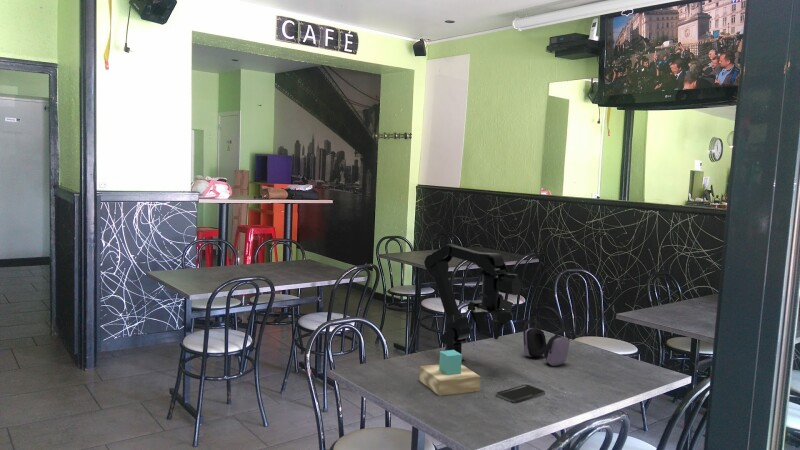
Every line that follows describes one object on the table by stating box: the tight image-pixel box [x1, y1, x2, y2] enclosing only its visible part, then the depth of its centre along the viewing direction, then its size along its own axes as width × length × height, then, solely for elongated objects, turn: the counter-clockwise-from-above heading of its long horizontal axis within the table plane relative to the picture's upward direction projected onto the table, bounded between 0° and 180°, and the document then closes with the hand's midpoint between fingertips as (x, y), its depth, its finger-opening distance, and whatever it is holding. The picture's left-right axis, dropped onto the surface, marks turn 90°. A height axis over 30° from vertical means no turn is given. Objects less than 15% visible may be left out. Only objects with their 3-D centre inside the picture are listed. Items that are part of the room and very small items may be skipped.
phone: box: [495, 384, 546, 404], centre depth 176 cm, size 8×1×15 cm
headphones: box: [523, 305, 571, 367], centre depth 211 cm, size 9×17×20 cm, turn 34°
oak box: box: [418, 363, 482, 397], centre depth 181 cm, size 14×14×5 cm
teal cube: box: [439, 350, 463, 375], centre depth 180 cm, size 5×5×6 cm
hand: (488, 335), depth 197 cm, fingers open, 9 cm apart
